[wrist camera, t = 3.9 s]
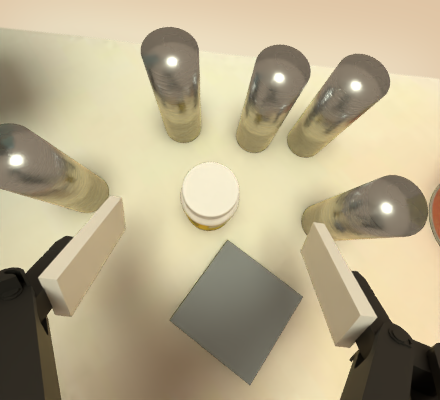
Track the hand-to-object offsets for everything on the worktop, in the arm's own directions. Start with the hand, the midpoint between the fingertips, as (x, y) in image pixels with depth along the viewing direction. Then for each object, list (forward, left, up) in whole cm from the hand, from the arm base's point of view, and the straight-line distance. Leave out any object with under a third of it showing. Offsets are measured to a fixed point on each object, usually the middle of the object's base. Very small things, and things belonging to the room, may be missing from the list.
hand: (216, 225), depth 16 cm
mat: (+6, -4, -8) cm, 11 cm away
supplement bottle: (-2, +2, -8) cm, 8 cm away
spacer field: (-2, +5, -8) cm, 9 cm away
